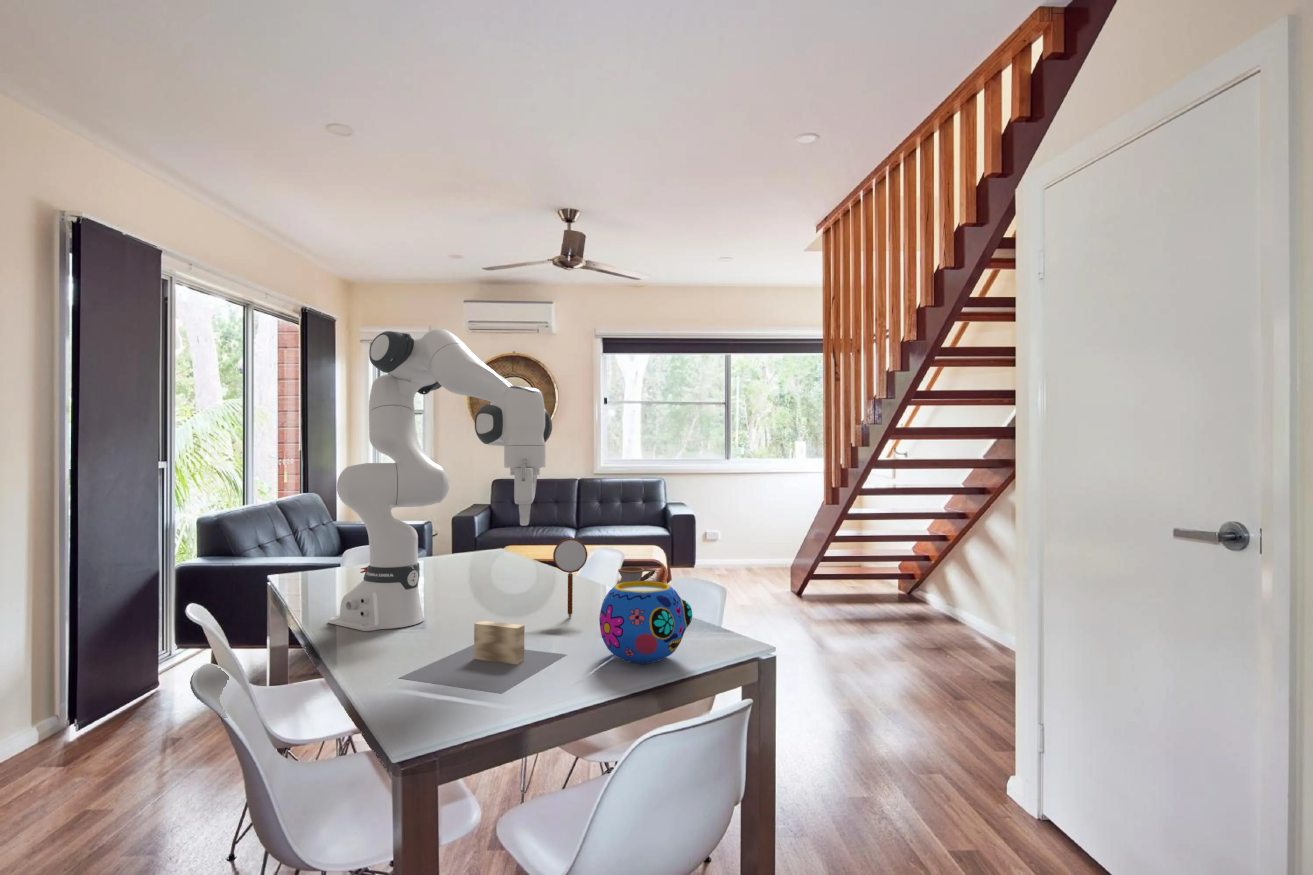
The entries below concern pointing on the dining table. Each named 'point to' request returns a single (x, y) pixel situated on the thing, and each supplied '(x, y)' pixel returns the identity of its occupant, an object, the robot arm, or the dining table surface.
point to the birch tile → (499, 642)
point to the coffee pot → (634, 574)
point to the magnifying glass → (570, 562)
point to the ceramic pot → (643, 621)
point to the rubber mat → (482, 671)
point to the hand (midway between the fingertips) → (525, 523)
